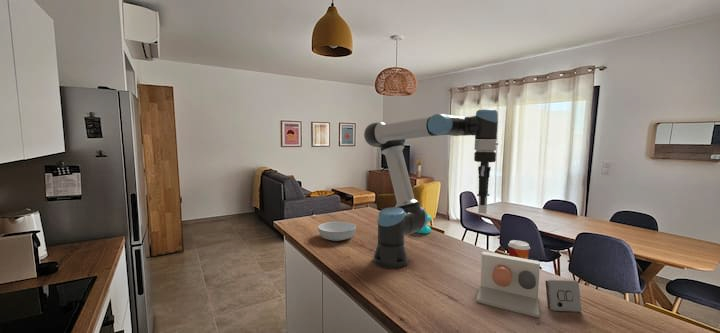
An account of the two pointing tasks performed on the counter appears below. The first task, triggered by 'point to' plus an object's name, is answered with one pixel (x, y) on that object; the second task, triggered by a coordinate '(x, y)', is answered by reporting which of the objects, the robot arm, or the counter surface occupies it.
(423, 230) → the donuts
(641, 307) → the counter surface
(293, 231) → the counter surface
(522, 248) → the paper cup
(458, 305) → the counter surface
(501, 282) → the knob
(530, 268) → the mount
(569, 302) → the electrical switch
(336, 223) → the serving bowl
